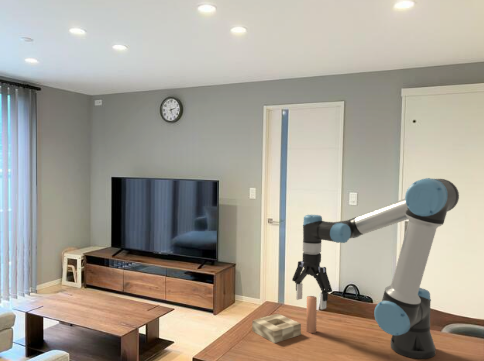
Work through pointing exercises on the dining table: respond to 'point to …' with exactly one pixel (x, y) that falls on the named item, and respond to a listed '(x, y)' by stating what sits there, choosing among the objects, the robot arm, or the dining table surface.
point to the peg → (311, 314)
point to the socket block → (276, 327)
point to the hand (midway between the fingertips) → (310, 303)
